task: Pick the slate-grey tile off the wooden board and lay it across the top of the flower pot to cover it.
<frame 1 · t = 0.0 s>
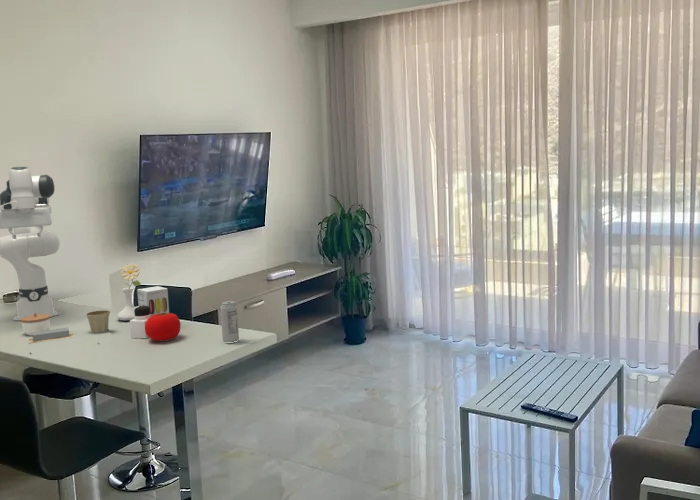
hand: (27, 238, 280), 39 cm above the table, tool pointing down, fingers open, 8 cm apart
energy drink can: (231, 342, 248), on the table
medicine bottle: (144, 336, 263), on the table
wooden board: (51, 339, 263), on the table
slate tile: (51, 337, 263), point 1 cm above the table, touching wooden board
tomato: (164, 340, 256), on the table
supplement box: (155, 329, 274), on the table
flower pot: (100, 333, 271), on the table
lidded jar: (37, 336, 272), on the table
flower in vase: (132, 319, 293), on the table
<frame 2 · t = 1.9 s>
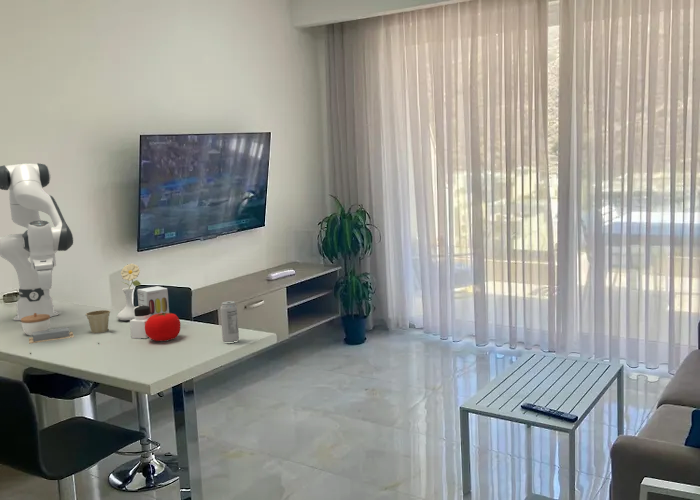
hand: (47, 297, 261), 17 cm above the table, tool pointing down, fingers open, 8 cm apart
nothing on the table moved.
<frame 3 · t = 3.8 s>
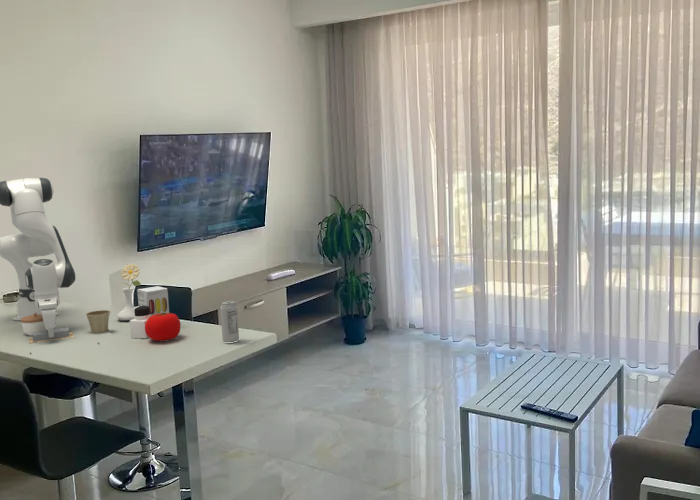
hand: (51, 335, 263), 2 cm above the table, tool pointing down, fingers closed on slate tile, 6 cm apart
slate tile: (51, 337, 263), point 1 cm above the table, touching wooden board, gripper
everything else where it was.
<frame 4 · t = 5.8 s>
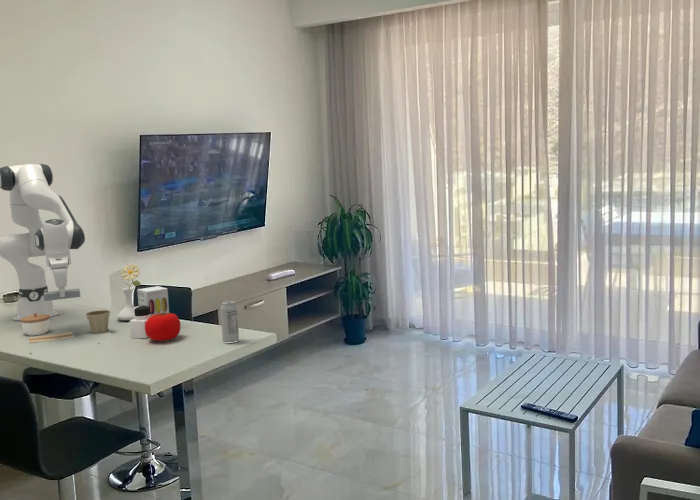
hand: (62, 295, 263), 17 cm above the table, tool pointing down, fingers closed on slate tile, 6 cm apart
slate tile: (62, 297, 263), point 16 cm above the table, touching gripper
everything else where it was.
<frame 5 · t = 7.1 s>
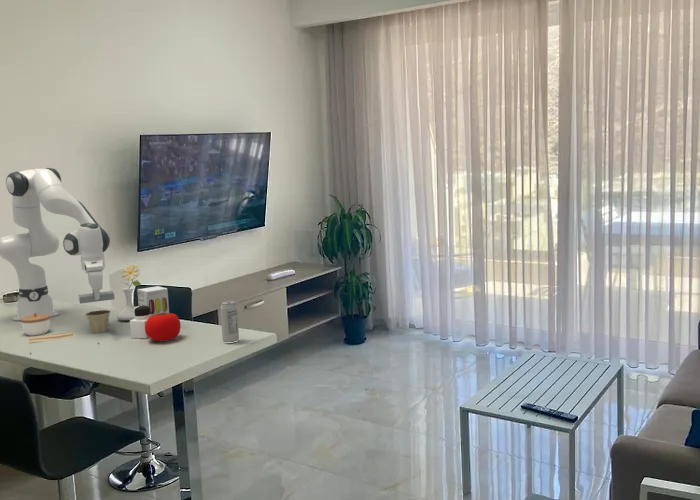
hand: (96, 297, 269), 15 cm above the table, tool pointing down, fingers closed on slate tile, 6 cm apart
slate tile: (96, 300, 269), point 14 cm above the table, touching gripper
everything else where it was.
when the fingers open (11 cm above the table, at t = 8.2 s): slate tile drops 1 cm, resting on flower pot.
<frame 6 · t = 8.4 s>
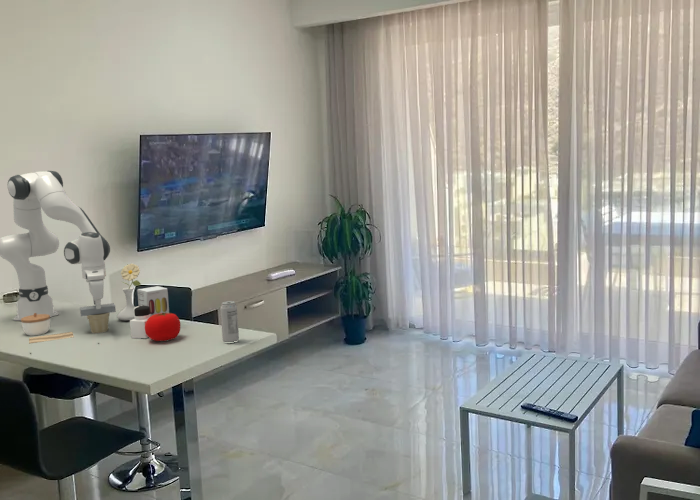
hand: (97, 306, 269), 11 cm above the table, tool pointing down, fingers open, 8 cm apart
slate tile: (98, 312, 270), point 9 cm above the table, touching flower pot
flower pot: (100, 333, 271), on the table, touching slate tile
everything else where it was.
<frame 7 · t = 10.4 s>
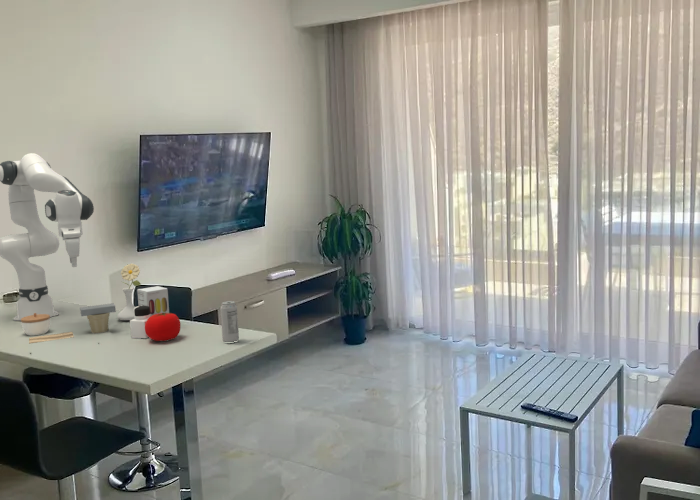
hand: (73, 264, 269), 28 cm above the table, tool pointing down, fingers open, 8 cm apart
nothing on the table moved.
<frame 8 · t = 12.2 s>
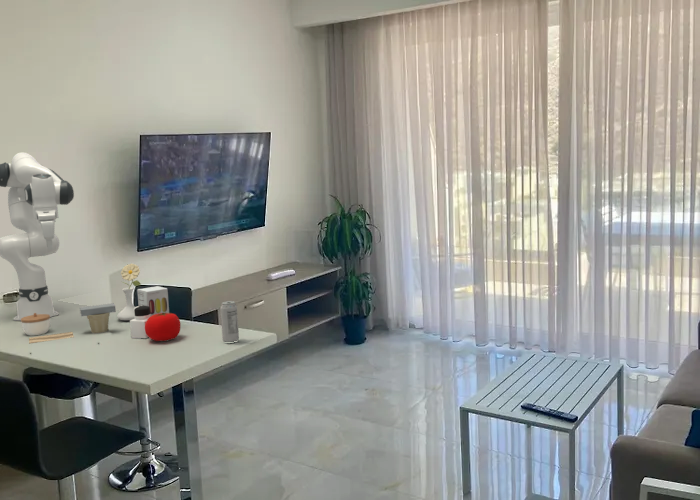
hand: (49, 248, 270), 35 cm above the table, tool pointing down, fingers open, 8 cm apart
nothing on the table moved.
at the end: slate tile 0.0 cm from the flower pot (horizontally); slate tile point 8.5 cm above the table; the gripper is holding nothing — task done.
